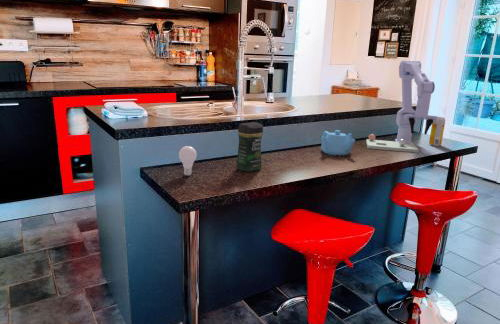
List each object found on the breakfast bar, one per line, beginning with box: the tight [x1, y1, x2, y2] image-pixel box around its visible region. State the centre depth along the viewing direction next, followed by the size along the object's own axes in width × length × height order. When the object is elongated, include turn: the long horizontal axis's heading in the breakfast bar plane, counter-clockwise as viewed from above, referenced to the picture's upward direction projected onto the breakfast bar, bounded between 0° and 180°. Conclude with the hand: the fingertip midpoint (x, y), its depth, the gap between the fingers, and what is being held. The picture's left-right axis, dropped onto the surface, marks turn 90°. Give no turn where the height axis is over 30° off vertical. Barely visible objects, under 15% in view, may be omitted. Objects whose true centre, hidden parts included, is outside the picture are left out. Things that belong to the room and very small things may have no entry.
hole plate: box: [365, 138, 419, 154], centre depth 200 cm, size 16×24×2 cm, turn 76°
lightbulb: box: [178, 145, 198, 177], centre depth 139 cm, size 6×6×11 cm
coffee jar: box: [235, 121, 264, 173], centre depth 149 cm, size 10×8×19 cm
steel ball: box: [399, 139, 406, 146], centre depth 196 cm, size 4×4×4 cm
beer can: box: [428, 116, 446, 147], centre depth 207 cm, size 6×6×15 cm
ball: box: [368, 133, 376, 141], centre depth 206 cm, size 4×4×4 cm
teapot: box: [320, 129, 356, 157], centre depth 182 cm, size 15×15×11 cm
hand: (418, 133), depth 193 cm, fingers open, 6 cm apart
